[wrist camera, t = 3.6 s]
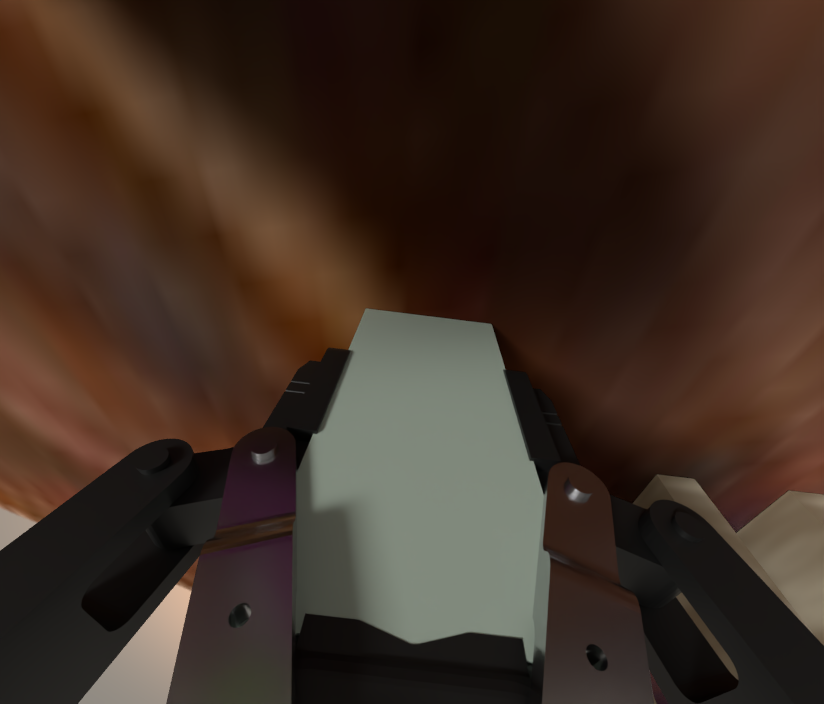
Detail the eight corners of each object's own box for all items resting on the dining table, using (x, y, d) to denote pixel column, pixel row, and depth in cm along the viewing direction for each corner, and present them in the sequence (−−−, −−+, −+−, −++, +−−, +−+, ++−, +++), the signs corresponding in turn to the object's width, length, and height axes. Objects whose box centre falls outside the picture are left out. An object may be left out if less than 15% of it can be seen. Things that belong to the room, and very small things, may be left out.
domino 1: (365, 308, 13) (232, 625, 4) (491, 324, 13) (597, 669, 4) (364, 350, 14) (255, 668, 6) (480, 364, 14) (547, 703, 6)
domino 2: (694, 479, 17) (946, 808, 9) (646, 529, 20) (802, 816, 11) (656, 474, 17) (872, 799, 9) (614, 525, 20) (745, 810, 11)
